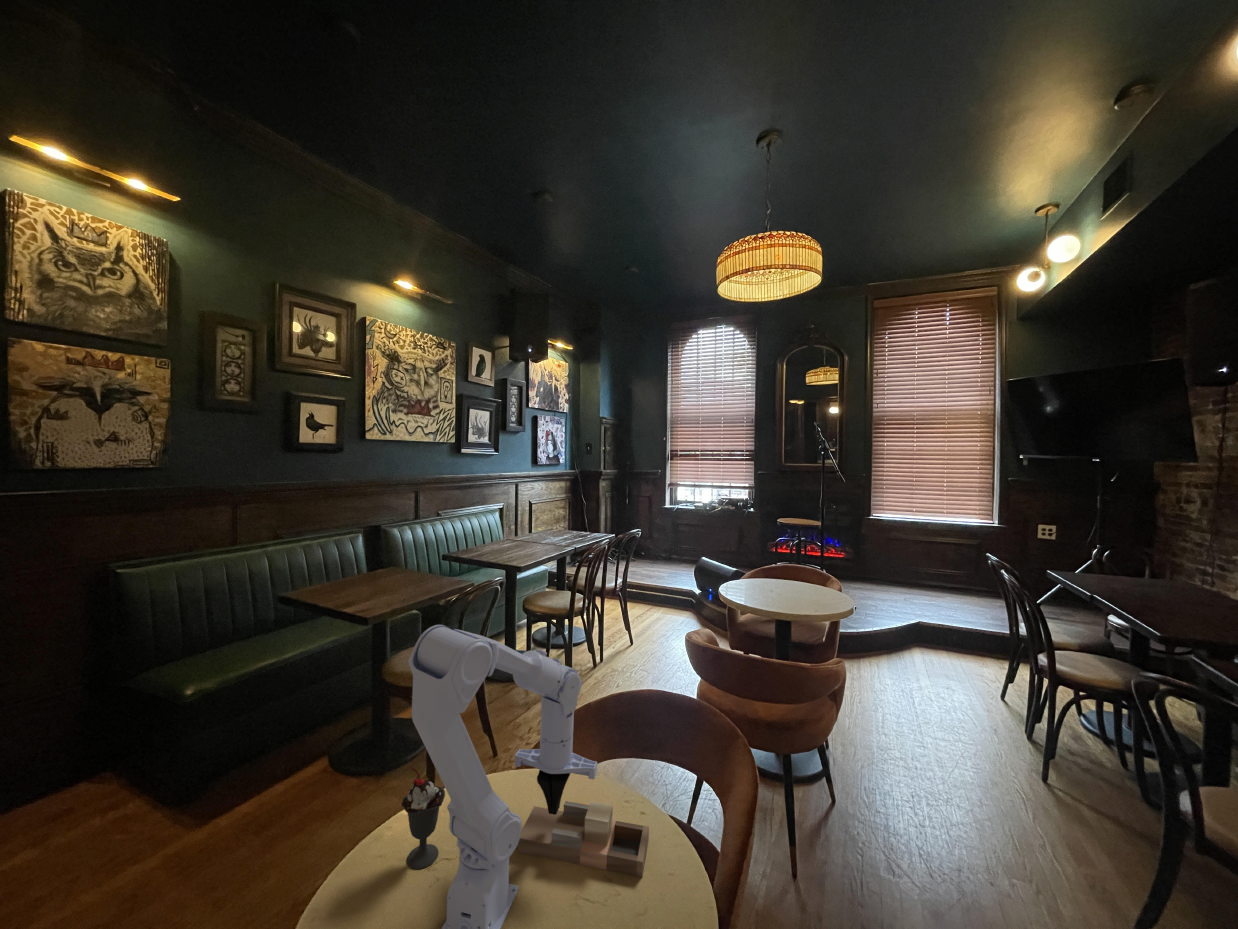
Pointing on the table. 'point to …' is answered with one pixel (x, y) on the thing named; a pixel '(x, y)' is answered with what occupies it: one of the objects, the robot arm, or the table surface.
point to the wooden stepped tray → (567, 843)
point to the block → (598, 823)
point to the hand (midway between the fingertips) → (554, 810)
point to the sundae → (423, 819)
